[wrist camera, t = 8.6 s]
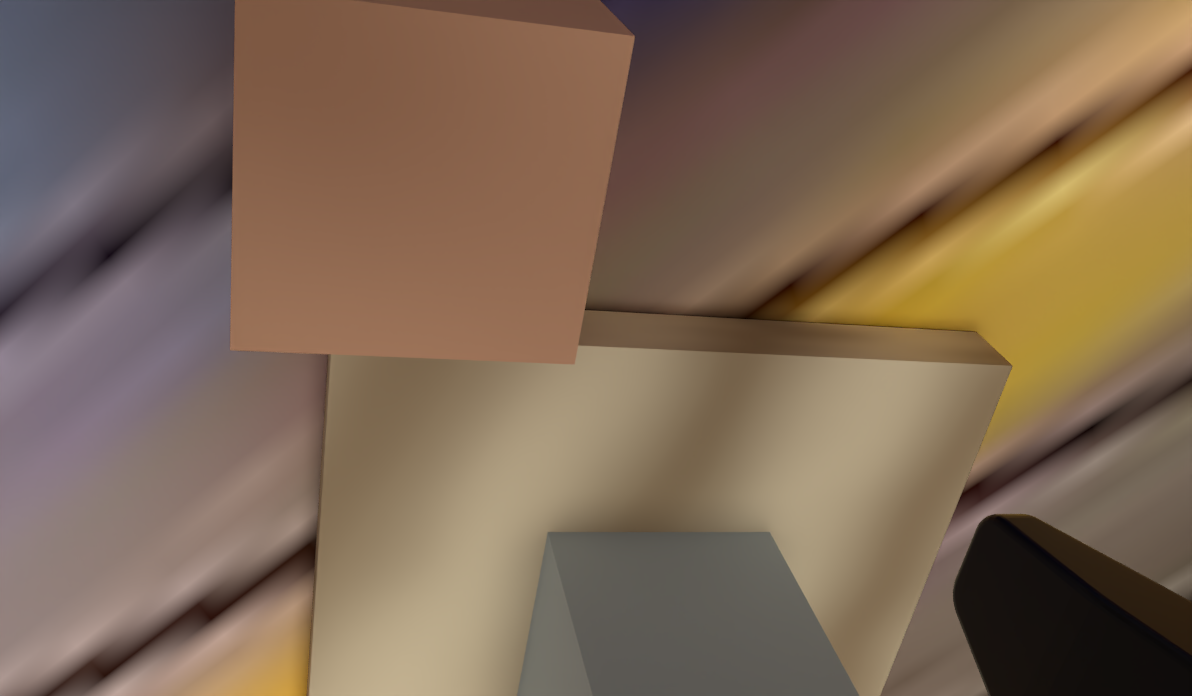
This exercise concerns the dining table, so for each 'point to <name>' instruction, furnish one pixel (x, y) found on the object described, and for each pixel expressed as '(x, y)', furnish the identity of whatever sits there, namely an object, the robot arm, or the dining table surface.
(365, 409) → the birch base
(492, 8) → the terracotta block
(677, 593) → the gray block
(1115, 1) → the dining table surface
